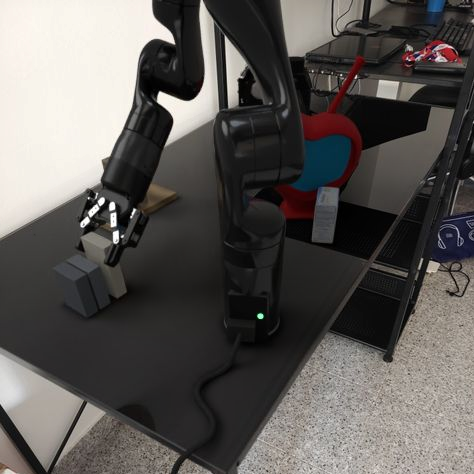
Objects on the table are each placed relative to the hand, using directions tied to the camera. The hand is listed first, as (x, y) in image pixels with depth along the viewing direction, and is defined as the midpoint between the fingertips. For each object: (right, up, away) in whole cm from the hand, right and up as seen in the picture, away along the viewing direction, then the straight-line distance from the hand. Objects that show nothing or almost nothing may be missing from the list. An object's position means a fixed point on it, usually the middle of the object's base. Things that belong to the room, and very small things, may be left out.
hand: (94, 258), depth 74 cm
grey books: (-2, -7, +3) cm, 9 cm away
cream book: (+1, -4, +6) cm, 8 cm away
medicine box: (+43, +9, +19) cm, 48 cm away
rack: (0, +17, +27) cm, 32 cm away
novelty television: (+40, +17, +27) cm, 51 cm away
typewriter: (+39, +39, +47) cm, 73 cm away
